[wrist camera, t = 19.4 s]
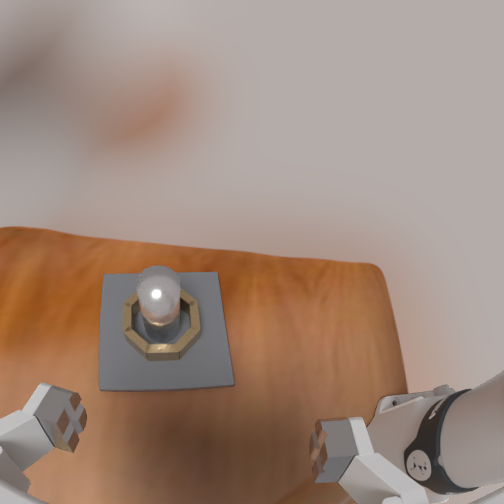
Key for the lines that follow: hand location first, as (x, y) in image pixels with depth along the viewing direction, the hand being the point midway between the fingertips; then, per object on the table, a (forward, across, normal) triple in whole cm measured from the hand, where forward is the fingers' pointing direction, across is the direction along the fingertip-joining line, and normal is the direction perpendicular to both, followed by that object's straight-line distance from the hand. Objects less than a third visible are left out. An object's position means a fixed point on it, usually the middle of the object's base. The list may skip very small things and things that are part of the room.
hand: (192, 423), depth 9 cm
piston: (+25, +8, +14) cm, 30 cm away
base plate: (+25, +8, +15) cm, 31 cm away
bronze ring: (+25, +8, +14) cm, 30 cm away
